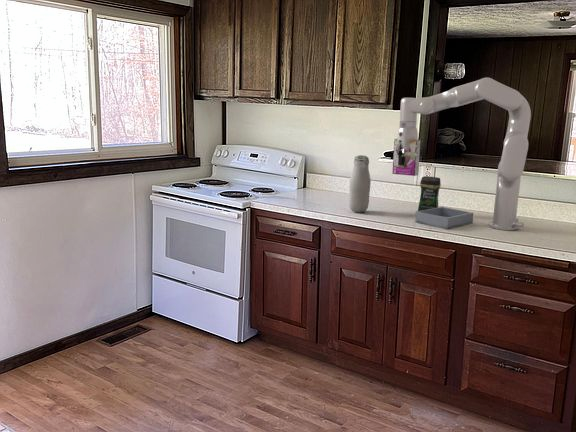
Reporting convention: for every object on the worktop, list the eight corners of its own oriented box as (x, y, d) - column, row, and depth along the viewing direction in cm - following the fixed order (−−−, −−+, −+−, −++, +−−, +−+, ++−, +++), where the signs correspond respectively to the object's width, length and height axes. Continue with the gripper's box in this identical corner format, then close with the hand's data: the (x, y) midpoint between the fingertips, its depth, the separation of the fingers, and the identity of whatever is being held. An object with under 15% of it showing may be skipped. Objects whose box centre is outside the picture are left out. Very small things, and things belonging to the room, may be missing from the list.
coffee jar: (416, 214, 270) (419, 176, 266) (419, 211, 277) (422, 174, 273) (436, 216, 266) (439, 178, 262) (439, 213, 273) (442, 176, 269)
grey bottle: (346, 213, 270) (349, 155, 264) (350, 209, 279) (353, 153, 273) (366, 214, 267) (369, 156, 261) (370, 210, 276) (373, 154, 270)
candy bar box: (391, 174, 258) (393, 138, 255) (396, 173, 262) (397, 138, 259) (414, 176, 252) (417, 140, 249) (418, 175, 256) (420, 139, 253)
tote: (472, 223, 253) (473, 212, 252) (447, 229, 241) (448, 218, 240) (440, 216, 266) (441, 206, 265) (415, 222, 253) (416, 211, 252)
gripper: (402, 126, 244) (400, 166, 248) (426, 125, 255) (423, 164, 259) (389, 125, 250) (387, 165, 253) (413, 124, 261) (410, 162, 264)
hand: (405, 164), depth 256 cm, fingers closed on candy bar box, 6 cm apart
